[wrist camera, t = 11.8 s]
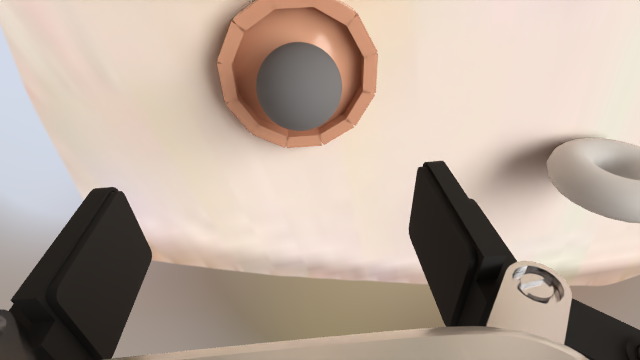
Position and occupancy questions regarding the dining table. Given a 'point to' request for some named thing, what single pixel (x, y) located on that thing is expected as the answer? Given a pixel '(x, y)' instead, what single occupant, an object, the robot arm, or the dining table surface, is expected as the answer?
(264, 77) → the ball
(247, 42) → the bowl
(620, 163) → the donut
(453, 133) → the dining table surface
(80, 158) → the dining table surface
